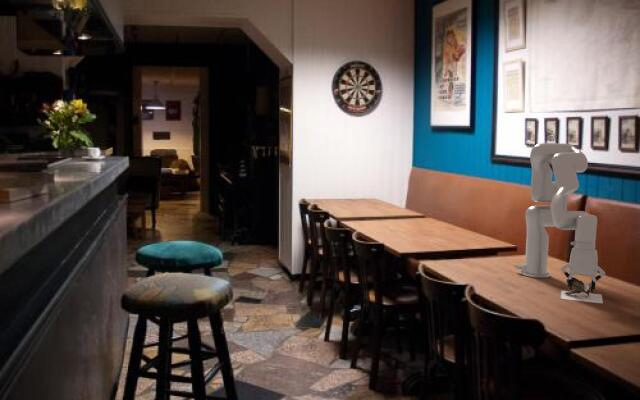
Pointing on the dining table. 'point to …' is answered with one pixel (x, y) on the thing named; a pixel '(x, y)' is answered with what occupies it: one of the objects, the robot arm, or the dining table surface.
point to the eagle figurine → (579, 287)
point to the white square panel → (582, 297)
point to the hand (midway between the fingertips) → (581, 289)
